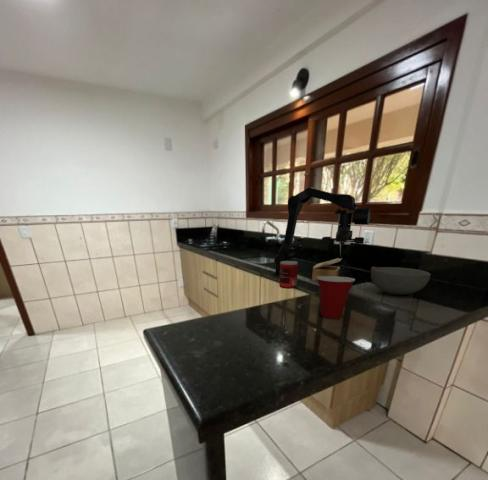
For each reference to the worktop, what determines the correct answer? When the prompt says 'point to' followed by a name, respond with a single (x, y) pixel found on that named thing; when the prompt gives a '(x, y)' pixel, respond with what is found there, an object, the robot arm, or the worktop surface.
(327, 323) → the worktop surface
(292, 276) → the canned food
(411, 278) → the bowl
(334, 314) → the plastic cup
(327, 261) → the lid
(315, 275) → the chest
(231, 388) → the worktop surface
